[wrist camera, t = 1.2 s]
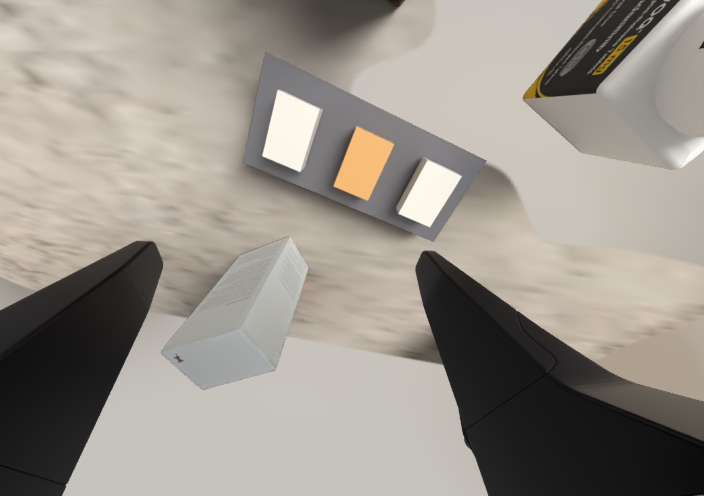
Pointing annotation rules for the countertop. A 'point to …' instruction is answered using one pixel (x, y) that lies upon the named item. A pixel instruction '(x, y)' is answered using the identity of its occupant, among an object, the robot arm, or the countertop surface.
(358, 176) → the middle paddle
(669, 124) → the medicine bottle
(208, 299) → the skincare box
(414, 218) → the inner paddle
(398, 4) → the yellow and black cube
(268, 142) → the block
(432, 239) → the block
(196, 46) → the countertop surface
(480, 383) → the robot arm
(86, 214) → the countertop surface
